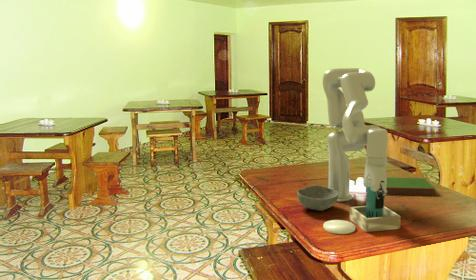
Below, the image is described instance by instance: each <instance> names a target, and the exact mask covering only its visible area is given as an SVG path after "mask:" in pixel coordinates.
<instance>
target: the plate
mask: <svg viewBox="0 0 476 280" xmlns="http://www.w3.org/2000/svg"><path fill="white" fill-rule="evenodd" d="M322 227H323V229H324V230H325V231H326V232H328V233H331V234H335V235H349V234H352V233H354V232H355V231H356V224H355V223H354V222H353V223H352V221H347V220H343V219H331V220H327V221H325V222H324V223H323V226H322Z"/></svg>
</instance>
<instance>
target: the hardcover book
mask: <svg viewBox="0 0 476 280" xmlns="http://www.w3.org/2000/svg"><path fill="white" fill-rule="evenodd" d="M386 189H387V194H386V195H403V196H405V195H409V196H412V195H413V196H435V195H436V188H435V186H433V185H432V184H431V183H430V182H429V181H428V180H427V179H426V178H423V177H422V178H421V177H419V178H418V177H388V176H387V186H386Z"/></svg>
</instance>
